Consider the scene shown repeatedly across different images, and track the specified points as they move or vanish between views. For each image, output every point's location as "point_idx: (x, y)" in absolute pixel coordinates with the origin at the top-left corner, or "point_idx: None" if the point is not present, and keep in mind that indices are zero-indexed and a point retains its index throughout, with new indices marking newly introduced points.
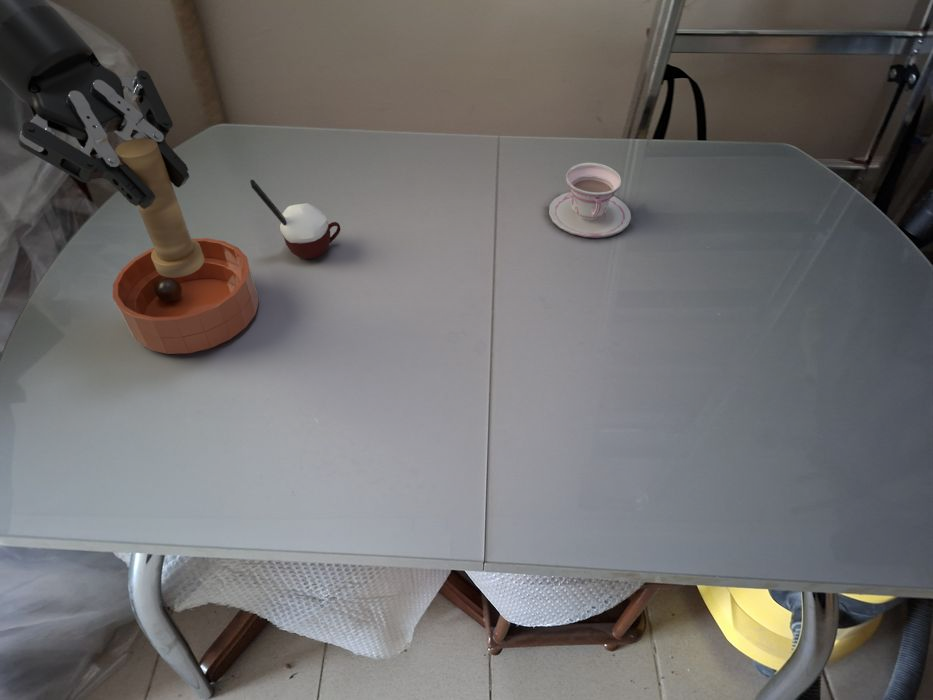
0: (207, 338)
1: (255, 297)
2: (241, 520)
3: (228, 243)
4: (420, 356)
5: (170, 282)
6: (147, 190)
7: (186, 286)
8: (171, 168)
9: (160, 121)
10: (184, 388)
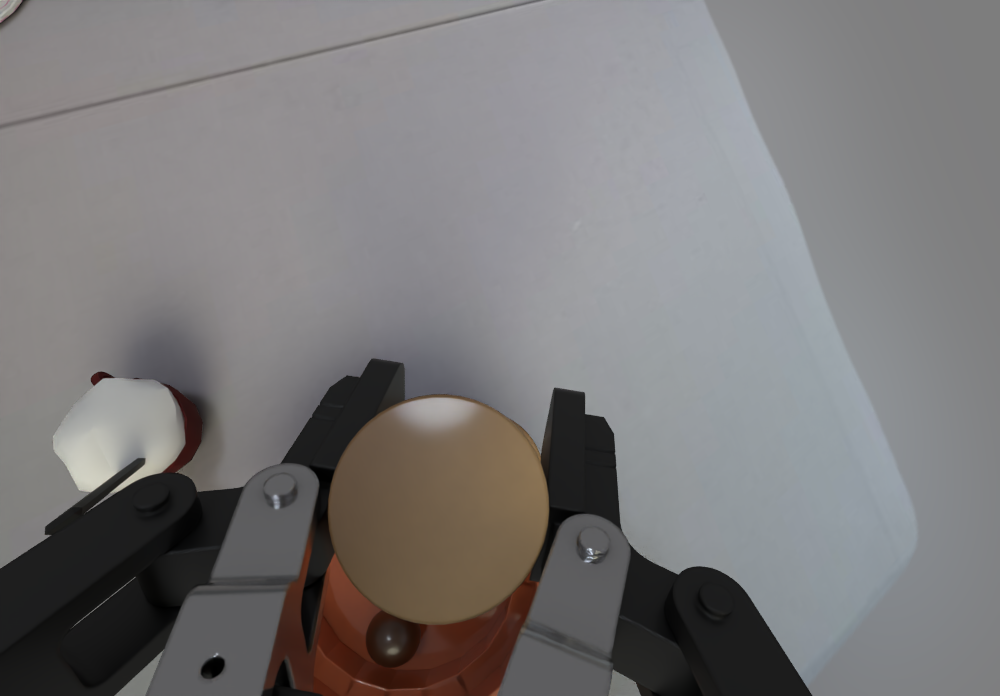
0: None
1: None
2: (766, 240)
3: None
4: (403, 132)
5: (386, 630)
6: (565, 404)
7: (351, 624)
8: None
9: (165, 521)
10: None
